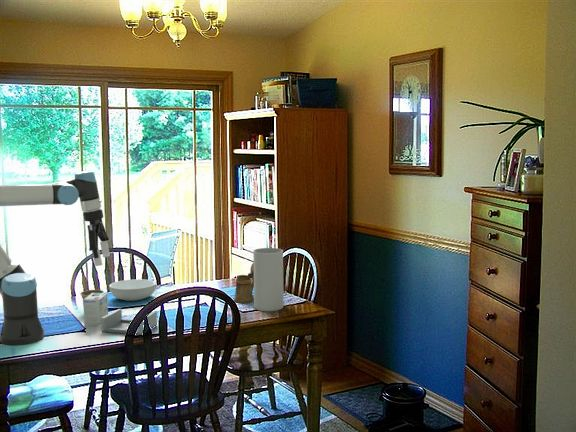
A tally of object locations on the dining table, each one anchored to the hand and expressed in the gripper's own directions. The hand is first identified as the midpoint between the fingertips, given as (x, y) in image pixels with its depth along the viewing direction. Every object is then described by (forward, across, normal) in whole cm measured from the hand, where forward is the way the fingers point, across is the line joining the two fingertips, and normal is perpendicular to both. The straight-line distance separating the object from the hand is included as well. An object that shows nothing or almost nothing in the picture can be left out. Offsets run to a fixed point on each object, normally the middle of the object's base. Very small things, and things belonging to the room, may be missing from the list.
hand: (102, 261), depth 269 cm
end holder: (+24, -18, -10) cm, 32 cm away
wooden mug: (+33, +23, -54) cm, 67 cm away
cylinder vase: (+34, +8, -63) cm, 72 cm away
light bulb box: (+23, -7, +5) cm, 25 cm away
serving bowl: (+26, +29, -2) cm, 39 cm away
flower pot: (+23, +7, +10) cm, 26 cm away
